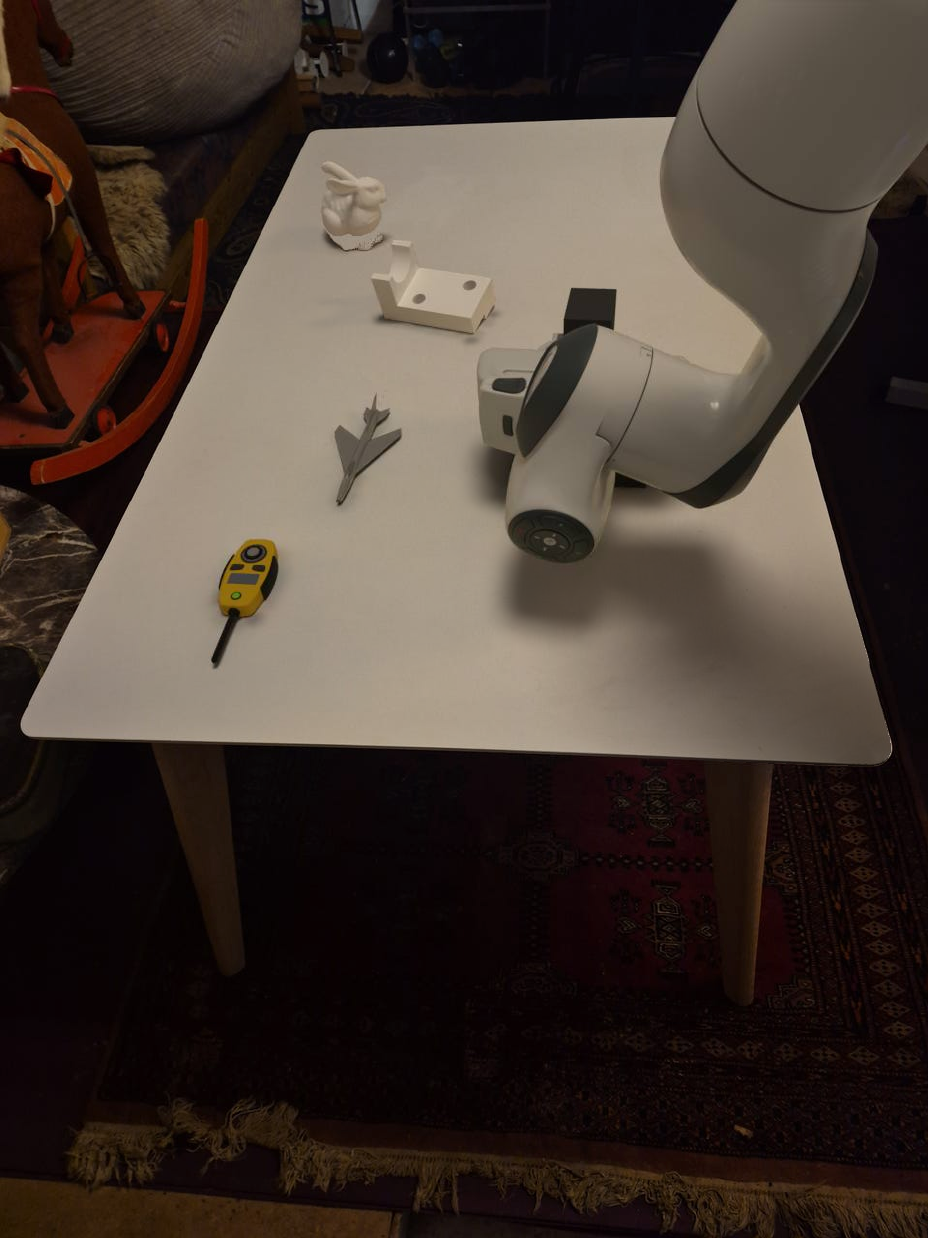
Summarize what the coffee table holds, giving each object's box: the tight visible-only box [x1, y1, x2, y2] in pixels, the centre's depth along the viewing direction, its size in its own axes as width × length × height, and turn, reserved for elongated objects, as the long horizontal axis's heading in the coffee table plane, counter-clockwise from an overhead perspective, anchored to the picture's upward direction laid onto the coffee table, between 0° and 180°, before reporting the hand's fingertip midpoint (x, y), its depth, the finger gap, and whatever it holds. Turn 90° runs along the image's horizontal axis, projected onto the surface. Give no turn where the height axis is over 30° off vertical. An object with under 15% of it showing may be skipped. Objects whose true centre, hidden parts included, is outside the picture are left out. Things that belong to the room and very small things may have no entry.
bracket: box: [370, 238, 497, 334], centre depth 110 cm, size 13×7×8 cm, turn 65°
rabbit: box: [320, 160, 388, 252], centre depth 124 cm, size 12×9×12 cm
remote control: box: [210, 538, 279, 664], centre depth 79 cm, size 5×2×15 cm
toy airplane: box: [334, 389, 402, 504], centre depth 94 cm, size 8×21×2 cm, turn 169°
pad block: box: [562, 287, 618, 336], centre depth 86 cm, size 4×6×10 cm
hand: (589, 340), depth 87 cm, fingers closed on pad block, 4 cm apart
